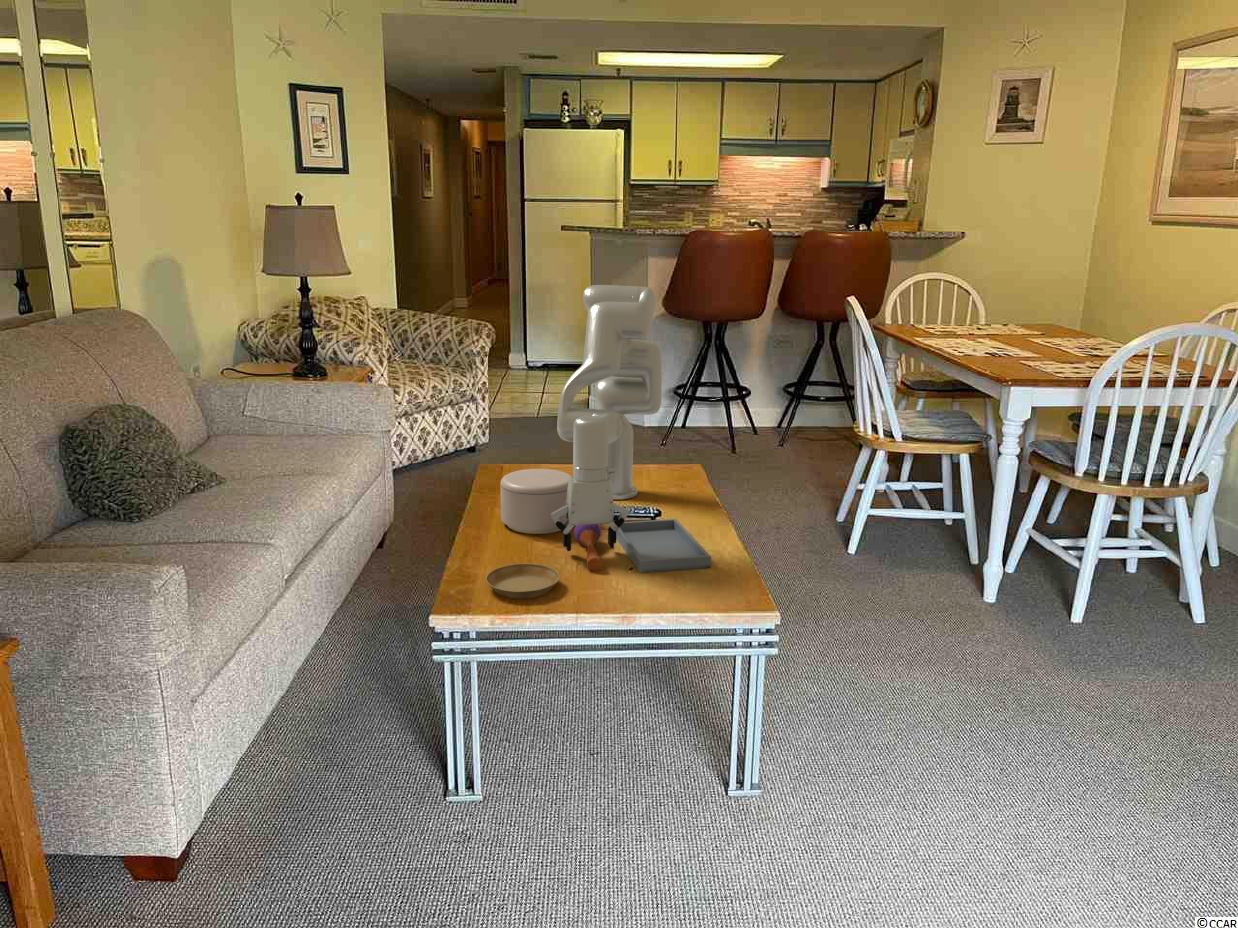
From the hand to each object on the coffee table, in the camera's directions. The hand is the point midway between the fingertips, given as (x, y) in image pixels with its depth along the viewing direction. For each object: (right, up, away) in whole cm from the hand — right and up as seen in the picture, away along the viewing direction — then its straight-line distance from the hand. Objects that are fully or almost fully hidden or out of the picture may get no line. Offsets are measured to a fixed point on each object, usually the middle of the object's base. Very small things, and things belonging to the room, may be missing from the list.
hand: (589, 547), depth 205 cm
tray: (+16, -1, +4) cm, 16 cm away
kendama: (0, -2, 0) cm, 2 cm away
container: (-13, +4, +20) cm, 24 cm away
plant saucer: (-13, -7, -18) cm, 23 cm away
